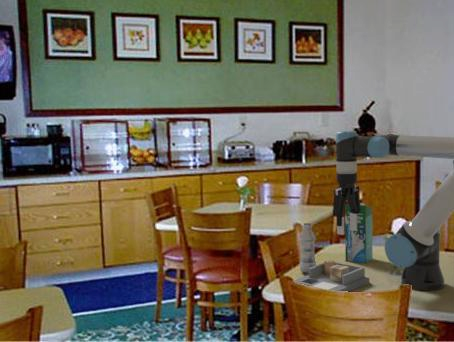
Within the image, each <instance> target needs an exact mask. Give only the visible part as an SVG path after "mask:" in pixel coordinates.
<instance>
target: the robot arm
mask: <svg viewBox="0 0 454 342" xmlns="http://www.w3.org/2000/svg"><path fill="white" fill-rule="evenodd" d="M335 138H336V139H335V148H336V151H335V152H336V160H335V161H336V172H337V173H336V183H337V184H338V188H337V189H335V188H334V189H333V205H332V206H333V207H332V216H333V217H334V218H336V234H337V235H341V236H345V216H344V214H345V204H346V203H347V202H348V204H349V206H350V210H351V213H350V230H352V231H357V214H359V213H360V210H361V207H360V203H361V200H360V198H361V197H360V186H359V185H355V184H356V183H358V174H357V172H358V162H357V160H358V158H374V159H382V158H383V159H384V158H386V157H387V156H403V157H418V158H419V157H420V158H432V159H449V160H452V162H451V164H452V169H451V171H450V172H449V173H448V175H447V176H446V177H445V178H444V179H443V181H442V182H441V183H440V184H439V186H438V187H437V189H436V190H435V191H434V192H433V193H432V194H431V196H430V197H429V198H428V200H427V201H426V202H425V204H424V205H423V206H422V208H421V209H420V210H419V211H418V212H417V214H416V215H415V216H414V217H413V218H412V220H406V221H405V222H404V223H403V224H402V225H401V227H400V228H399V229H398V230H397V232H395V234H392V235H389V237H388V238H387V240H386V241H385V243H384V252H385V256H386V258H387V259H388V260H389V262H390V263H391V264H392V265H395V266H396V267H398V268H403V272H402V274H401V277H400V280H401V281H400V283H401V285H402V284H409V285H412V290H419V291H435V290H440V289H442V288H444V287H445V278H444V275H443V272H442V269H441V267H440V266H441V265H440V249H441V248H440V246H441V245H440V244H441V243H440V241H441V240H440V238H441V233H440V232H441V231H440V228H441V227H442V226H443V225H444V224H445V223H446V221H447V220H448V219H449V218H450V217H451V216H452V214H454V137H453V136H425V135H398V134H393V133H390V134H389V133H387V134H384V135H375V136H358V134H357V131H356V130H342V131H341V130H340V131H338V132H336V137H335ZM357 207H358V208H357Z"/></svg>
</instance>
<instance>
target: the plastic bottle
mask: <svg viewBox="0 0 454 342" xmlns="http://www.w3.org/2000/svg"><path fill="white" fill-rule="evenodd" d="M301 228H302V231H301V232H300V234H299V237H298V239H299V245H300V261H299V270H300V272H301V273H303V274H309V269H308V268H311V267H314V266H317V262H316V257H315V249H316V248H315V245H316V234H315V233H314V232H313V230H312V229H313V224H312V223H308V222H307V223H306V222H305V223H302V227H301Z"/></svg>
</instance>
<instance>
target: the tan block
mask: <svg viewBox="0 0 454 342" xmlns="http://www.w3.org/2000/svg"><path fill="white" fill-rule="evenodd" d="M335 262H336V261H335V260H324V263H325V275H327V276H330V267H332V266H335Z"/></svg>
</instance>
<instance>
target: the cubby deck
mask: <svg viewBox="0 0 454 342" xmlns="http://www.w3.org/2000/svg"><path fill="white" fill-rule="evenodd" d="M335 265H342V266H347V267H349V273H347V274H344V275H342V283H339V282H335V281H330V276H327V275H325V262H323V263H319V264H316V266H314V267H311V268H308V269H309V273H308V274H306V275H305V276H301V277H300V278H297V279H293V280H294V281H295V282H297V283H300V284H304V285H307V286H312V287H316V288H321V289H327V290H335V291H350V290H352V291H355V290H357V289H359V288H361V287H363V286H365V285H368V284H370V277H367V276H366V273H365V272H366V270H365V269H366V268H365V267H361V266H358V265H352V264H347V263H341V262H336V261H335ZM350 292H351V291H350Z"/></svg>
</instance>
